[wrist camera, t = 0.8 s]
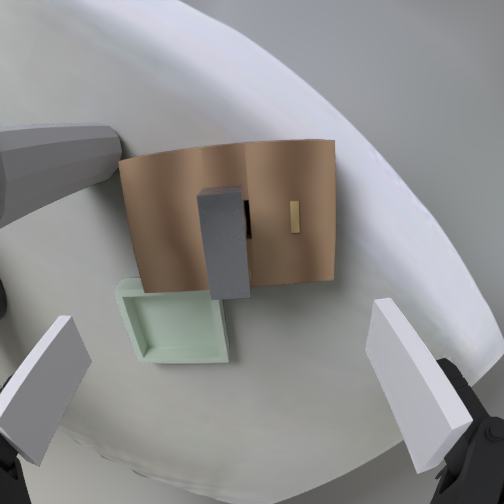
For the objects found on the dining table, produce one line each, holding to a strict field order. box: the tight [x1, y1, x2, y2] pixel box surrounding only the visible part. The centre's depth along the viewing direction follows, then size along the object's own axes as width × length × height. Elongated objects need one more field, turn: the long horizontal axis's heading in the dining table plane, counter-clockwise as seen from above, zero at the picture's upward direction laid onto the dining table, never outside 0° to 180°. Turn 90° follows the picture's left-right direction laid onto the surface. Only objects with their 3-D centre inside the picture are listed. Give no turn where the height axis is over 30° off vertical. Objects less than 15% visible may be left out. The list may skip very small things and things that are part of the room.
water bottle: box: [0, 123, 122, 228], centre depth 18 cm, size 9×8×25 cm
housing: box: [118, 139, 336, 293], centre depth 30 cm, size 20×14×6 cm
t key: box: [197, 185, 251, 300], centre depth 26 cm, size 3×8×12 cm, turn 4°
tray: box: [113, 278, 230, 364], centre depth 37 cm, size 13×12×3 cm
